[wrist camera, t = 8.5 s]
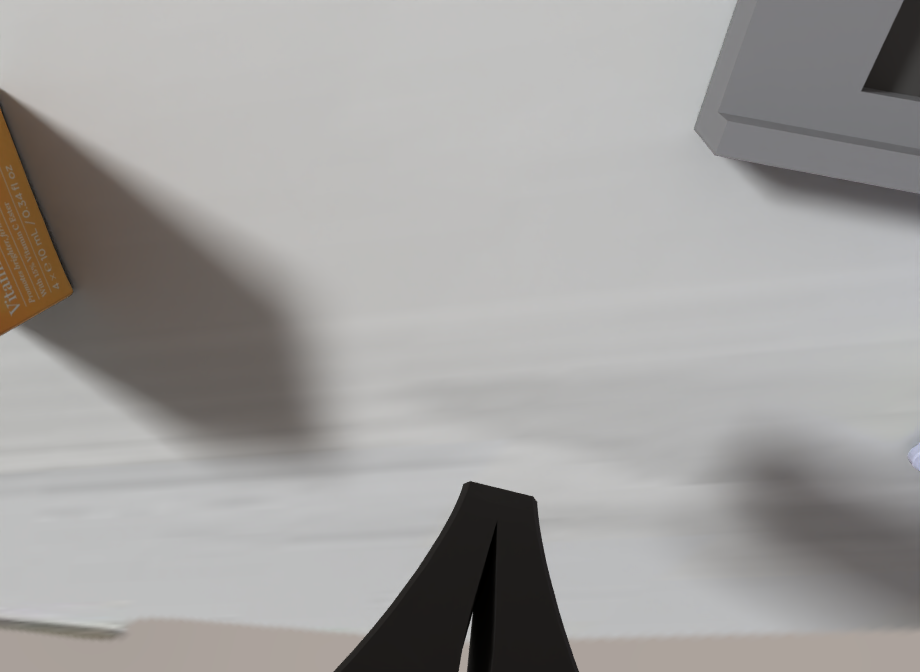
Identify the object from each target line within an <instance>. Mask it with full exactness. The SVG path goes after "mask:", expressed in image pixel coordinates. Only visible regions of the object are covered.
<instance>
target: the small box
mask: <svg viewBox="0 0 920 672" xmlns="http://www.w3.org/2000/svg"><path fill="white" fill-rule="evenodd" d="M72 293H73V290H72V288H71V285H70V283H69V281H68V279H67V277H66V275H65V272H64V270H63V268H62V265H61V263H60V260H59V258H58V256H57V253H56V251H55V249H54V246H53V243H52V241H51V238H50V236H49V233H48V231H47V228H46V225H45V223H44V220H43V218H42V215H41V213H40V210H39V208H38V205H37V203H36V200H35V198H34V195H33V193H32V190H31V187H30V185H29V182H28V180H27V177H26V174H25V172H24V169H23V166H22V164H21V161H20V159H19V156H18V153H17V151H16V148H15V146H14V143H13V140H12V138H11V135H10V133H9V130H8V127H7V125H6V122H5V120H4V117H3V114H2V112H1V108H0V336H1V335H3V334H5V333H7V332H8V331H10V330H12V329H13V328H15V327H17V326H19V325H20V324H22V323H24V322H26V321H27V320H29V319H31V318H33V317H34V316H36V315H38V314H40V313H41V312H43V311H45V310H46V309H48V308H50V307H52V306H54V305H55V304H57V303H59V302H60V301H62V300H64V299H66V298H67V297H69V296H70V295H72Z"/></svg>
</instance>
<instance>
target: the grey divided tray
mask: <svg viewBox="0 0 920 672" xmlns="http://www.w3.org/2000/svg"><path fill="white" fill-rule="evenodd" d="M694 130H695V131H696V132H697V134H698V135H699V136H700V137H701V139H702V140H703V141H704V142H705V144H706V145H707V146H708V147H709V149H710V150H711V151H712V152H713V154H714V155H716V156H721V157H726V158H732V159H737V160H742V161H747V162H753V163H758V164H763V165H769V166H774V167H779V168H785V169H790V170H795V171H801V172H806V173H811V174H816V175H822V176H827V177H832V178H838V179H843V180H848V181H854V182H859V183H864V184H869V185H875V186H880V187H885V188H891V189H896V190H901V191H907V192H912V193H917V194H920V0H738V1H737V4H736V7H735V10H734V13H733V16H732V19H731V22H730V25H729V27H728V30H727V33H726V36H725V39H724V42H723V45H722V48H721V51H720V54H719V57H718V60H717V63H716V66H715V69H714V72H713V75H712V77H711V80H710V83H709V86H708V89H707V92H706V95H705V98H704V101H703V104H702V107H701V110H700V113H699V116H698V119H697V122H696V124H695V127H694Z"/></svg>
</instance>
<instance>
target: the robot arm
mask: <svg viewBox="0 0 920 672" xmlns="http://www.w3.org/2000/svg"><path fill="white" fill-rule="evenodd" d="M908 459H909V461H910V463H911V464H912V465H913V467H914V468H916V469H917V470H918V471H920V443H919V444H918V445H916V446H915V447H913V448H912V449H911V450H910V451H909V454H908ZM472 613H473V617H472V627H471V637H470V648H469V658H468V668H467V672H579V671H578V668H577V665H576V662H575V660H574V657H573V654H572V651H571V648H570V645H569V642H568V638H567V635H566V632H565V629H564V626H563V623H562V619H561V616H560V613H559V609H558V605H557V602H556V598H555V594H554V591H553V587H552V583H551V579H550V575H549V571H548V567H547V563H546V558H545V553H544V548H543V543H542V538H541V532H540V526H539V518H538V508H537V501H536V500H535V499H534V497H533V496H529V495H525V494H521V493H516V492H512V491H508V490H504V489H500V488H496V487H492V486H488V485H484V484H479V483H475V482H471V481H470V482H467V483H465V484H463V487H462V490H461V493H460V496H459V498H458V500H457V503H456V505H455V507H454V509H453V511H452V513H451V515H450V517H449V519H448V521H447V523H446V524H445V526H444V528H443V530H442V531H441V533H440V535H439V537H438V538H437V540H436V541H435V543H434V544H433V546H432V547H431V549H430V551H429V552H428V554H427V555H426V557H425V558H424V560H423V562H422V563H421V565H420V566H419V568H418V569H417V570H416V572H415V573H414V575H413V576H412V577H411V579H410V580H409V581H408V583H407V584H406V585H405V587H404V588H403V590H402V591H401V592H400V594H399V595H398V596H397V598H396V599H395V600H394V602H393V603H392V604H391V606H390V607H389V608H388V610H387V611H386V612H385V613H384V615H383V616H382V617H381V618H380V619H379V621H378V622H377V623H376V624H375V626H374V627H373V628H372V629H371V630H370V632H369V633H368V634H367V635H366V636H365V637H364V639H363V640H362V641H361V642H360V643H359V644H358V646H357V647H356V648H355V649H354V650H353V651H352V652H351V653H350V655H349V656H348V657H347V658H346V659H345V660H344V661H343V662H342V663H341V664H340V665H339V666H338V668H337V669H336V670H335V671H334V672H458V671H459V665H460V659H461V653H462V648H463V645H464V641H465V638H466V634H467V631H468V627H469V624H470V620H471V616H472Z"/></svg>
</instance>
